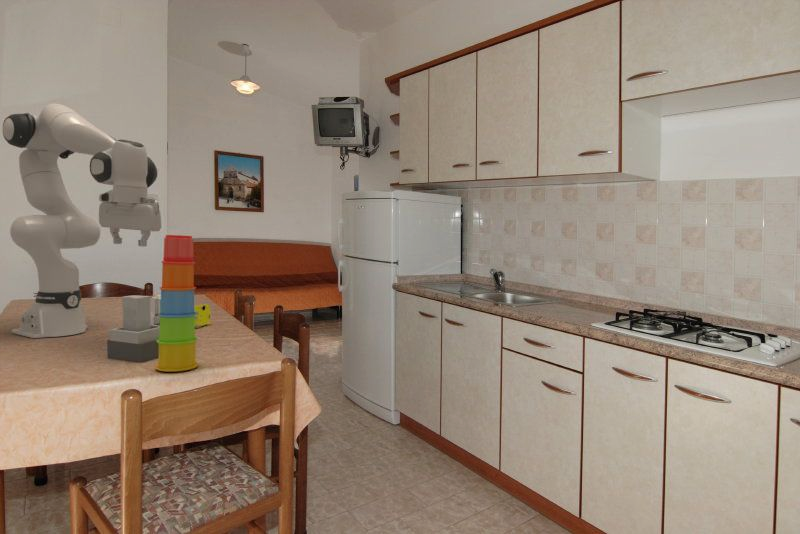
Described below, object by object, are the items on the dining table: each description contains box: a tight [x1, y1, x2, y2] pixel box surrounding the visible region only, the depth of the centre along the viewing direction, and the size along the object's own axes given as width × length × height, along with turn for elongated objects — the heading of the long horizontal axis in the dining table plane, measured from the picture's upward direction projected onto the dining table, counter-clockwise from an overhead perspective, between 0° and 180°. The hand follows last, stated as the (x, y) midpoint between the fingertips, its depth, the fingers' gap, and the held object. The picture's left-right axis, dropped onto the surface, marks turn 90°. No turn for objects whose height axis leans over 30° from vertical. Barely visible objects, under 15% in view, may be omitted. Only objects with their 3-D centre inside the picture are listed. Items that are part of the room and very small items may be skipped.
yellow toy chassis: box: [194, 303, 211, 329], centre depth 180 cm, size 16×6×8 cm, turn 159°
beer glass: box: [150, 295, 161, 326], centre depth 154 cm, size 7×7×15 cm
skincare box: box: [121, 294, 151, 332], centre depth 141 cm, size 6×4×12 cm
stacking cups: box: [155, 234, 199, 373], centre depth 130 cm, size 10×10×35 cm
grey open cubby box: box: [106, 325, 160, 363], centre depth 142 cm, size 12×10×9 cm
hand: (129, 245), depth 147 cm, fingers open, 8 cm apart
